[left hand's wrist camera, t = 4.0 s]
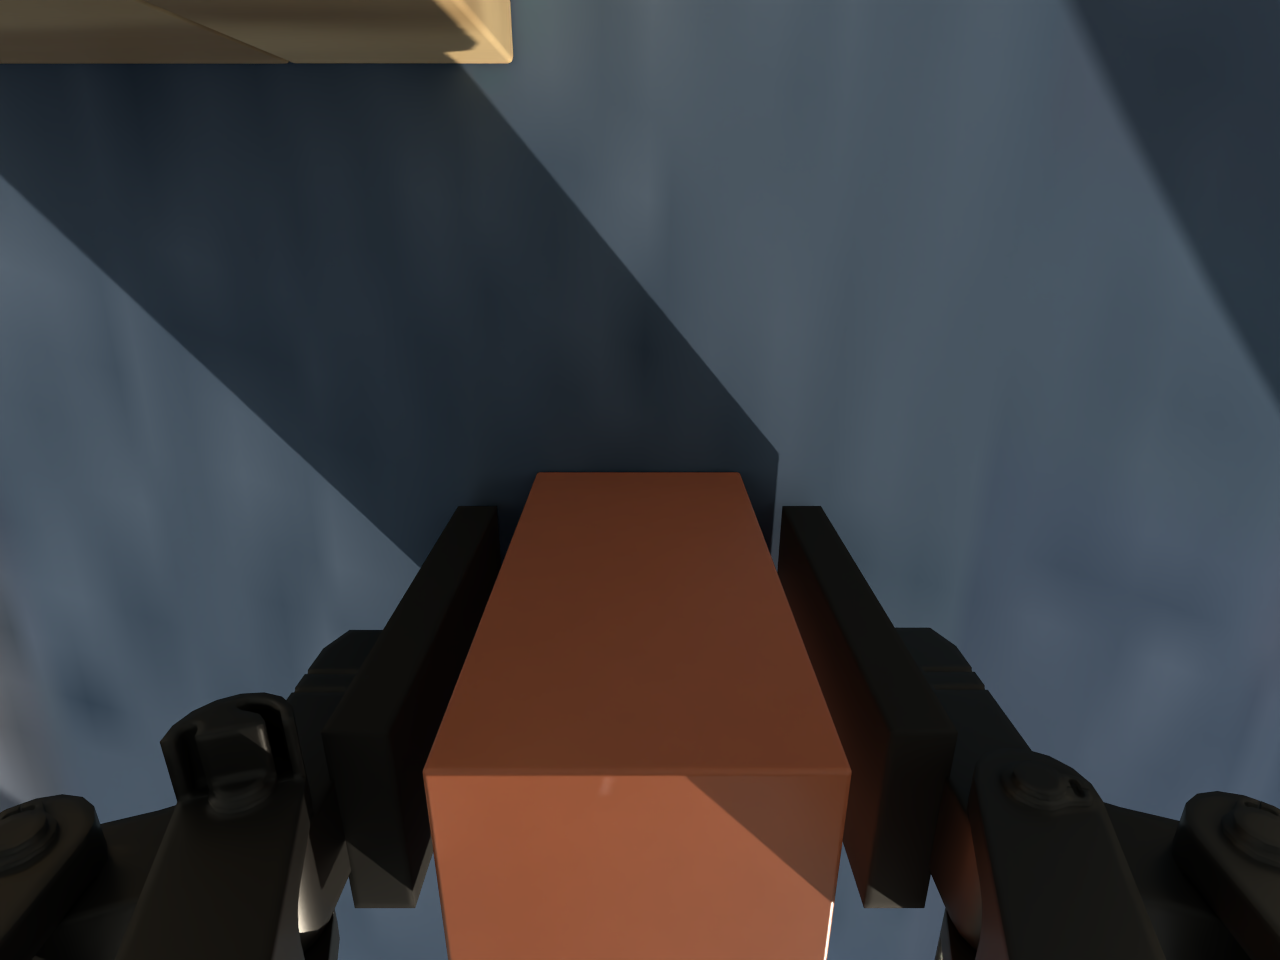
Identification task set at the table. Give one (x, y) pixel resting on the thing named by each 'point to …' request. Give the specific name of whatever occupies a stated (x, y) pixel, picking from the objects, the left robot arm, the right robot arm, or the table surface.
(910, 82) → the table surface
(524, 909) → the peg
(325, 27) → the wooden peg hole frame
